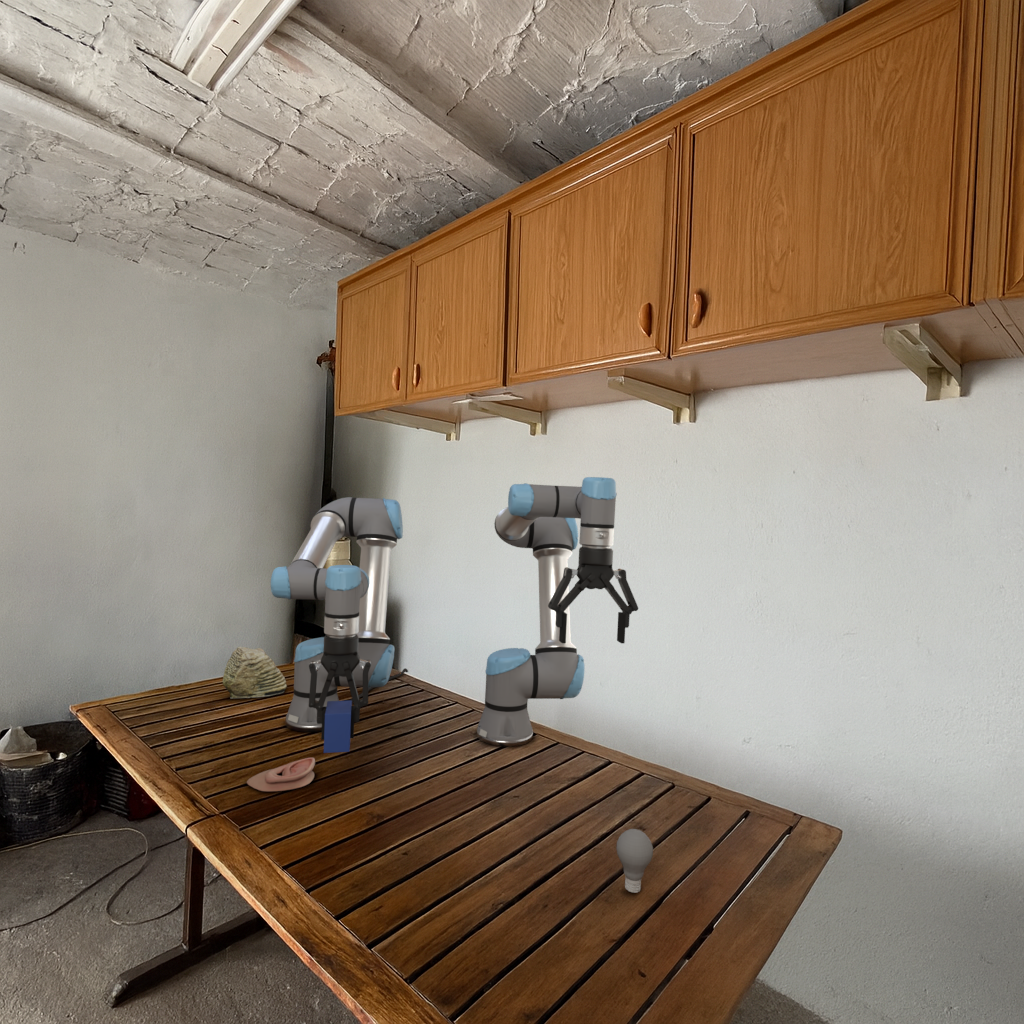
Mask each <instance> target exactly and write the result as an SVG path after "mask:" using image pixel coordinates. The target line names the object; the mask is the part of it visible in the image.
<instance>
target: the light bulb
mask: <svg viewBox="0 0 1024 1024" xmlns="http://www.w3.org/2000/svg"><path fill="white" fill-rule="evenodd" d="M615 849H616V854H617V857H618V859H619V861H620V863H621V865H622V867H623V873H624V874H623V875H624V876H625V878H624V888H625V890H627V891H628V892H630V893H634V894H635V893H639V892H640V891H641V889H642V887H641V886H642V879H643V877H644V875H645V871H646V868H647V867H648V866H649V864H650V863H651V861H652V859H653V855H654V847H653V843H652V841H651V838H649V836H648V835H647V834H646V833H645V832H643V831H642V830H641V829H636V828H629V829H627V830H625V831H623V832H622V833H621V834H620V835H619V837H618V839H617V841H616V847H615Z"/></svg>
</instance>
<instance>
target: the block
mask: <svg viewBox="0 0 1024 1024" xmlns="http://www.w3.org/2000/svg"><path fill="white" fill-rule="evenodd" d="M352 706H353V702H352V701H348V700H339V701H327V706H326V712H325V728H324V740H323V754H329V753H349V752H350V750H351V738H350V730H351V707H352Z"/></svg>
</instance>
